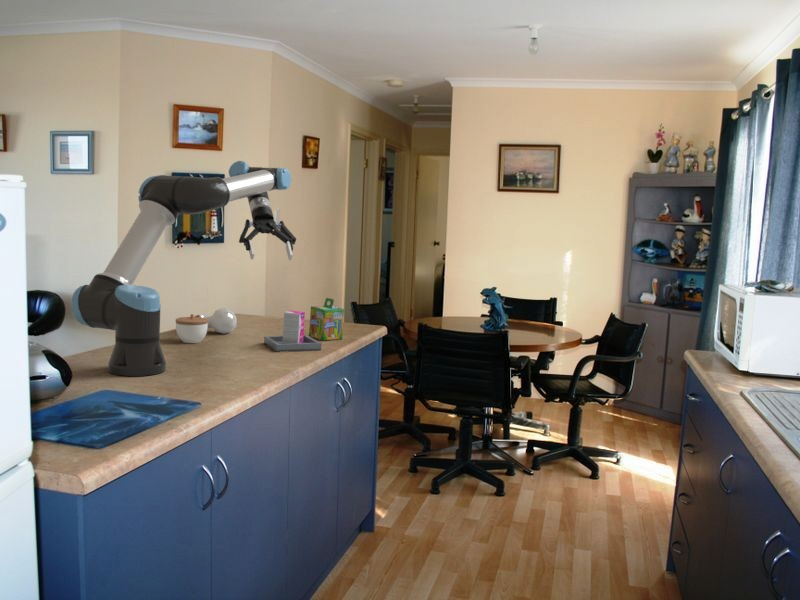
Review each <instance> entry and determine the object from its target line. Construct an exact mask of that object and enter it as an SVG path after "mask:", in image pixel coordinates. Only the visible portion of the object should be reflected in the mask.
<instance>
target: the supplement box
mask: <svg viewBox="0 0 800 600" xmlns="http://www.w3.org/2000/svg"><path fill="white" fill-rule="evenodd" d="M305 315H306V312H305V311H299V310H298V311H297V310H287V311H284V312H283V328H282V336H283V342H282V344H293V343H303V335H304V333H305V317H306V316H305Z"/></svg>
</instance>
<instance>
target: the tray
mask: <svg viewBox="0 0 800 600" xmlns="http://www.w3.org/2000/svg"><path fill="white" fill-rule="evenodd" d="M263 338H264V340H263V343H264V344H265V345H266V344H267V345H266V346H268V348H270V347H271V350H273V349H274V350H273V351H275V352H276V351H277V352H276V353H283V352H282V351H288V352H303V351H304V352H309V351H311V352H312V351H322V342H320V341H318V339H315V338H312V337H309V335H307V334H305V335H303V343H293V344H282V342H283V335H270V336H268V335H265V336H264V337H263ZM280 351H281V352H280Z"/></svg>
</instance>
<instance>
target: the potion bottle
mask: <svg viewBox="0 0 800 600" xmlns="http://www.w3.org/2000/svg"><path fill="white" fill-rule="evenodd" d="M194 317H202V318H207V319H208V329H213V330H214V332H216V333H218V334H221V335H225V334H229V333H232V332H233V330H234V329H235V328H236V327H237V324H238V323H237V321H238V320H237V319H238V318H237V316H236V314H235V313H234V312H233V310H231V309H229V308H226V307H223V308H219V309H216V310H215V311H214V312H213V314H212V315H207V314H206V313H201V314H197V315H195V316H194Z"/></svg>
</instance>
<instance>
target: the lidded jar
mask: <svg viewBox="0 0 800 600" xmlns="http://www.w3.org/2000/svg"><path fill="white" fill-rule="evenodd" d="M175 329H176V331H175V332H176V334H177V336H178V338H179V339H180V341H181V342H182V343H185V344H198V343H199V344H200V343H201V342H202V340H203V339H205V337H206V336H207V333H208V329H209V328H208V319H207V318H202V317H195V316H194V314H193V313H191V314H190V316H183V317H182V316H181V317H177V318H175Z"/></svg>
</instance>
